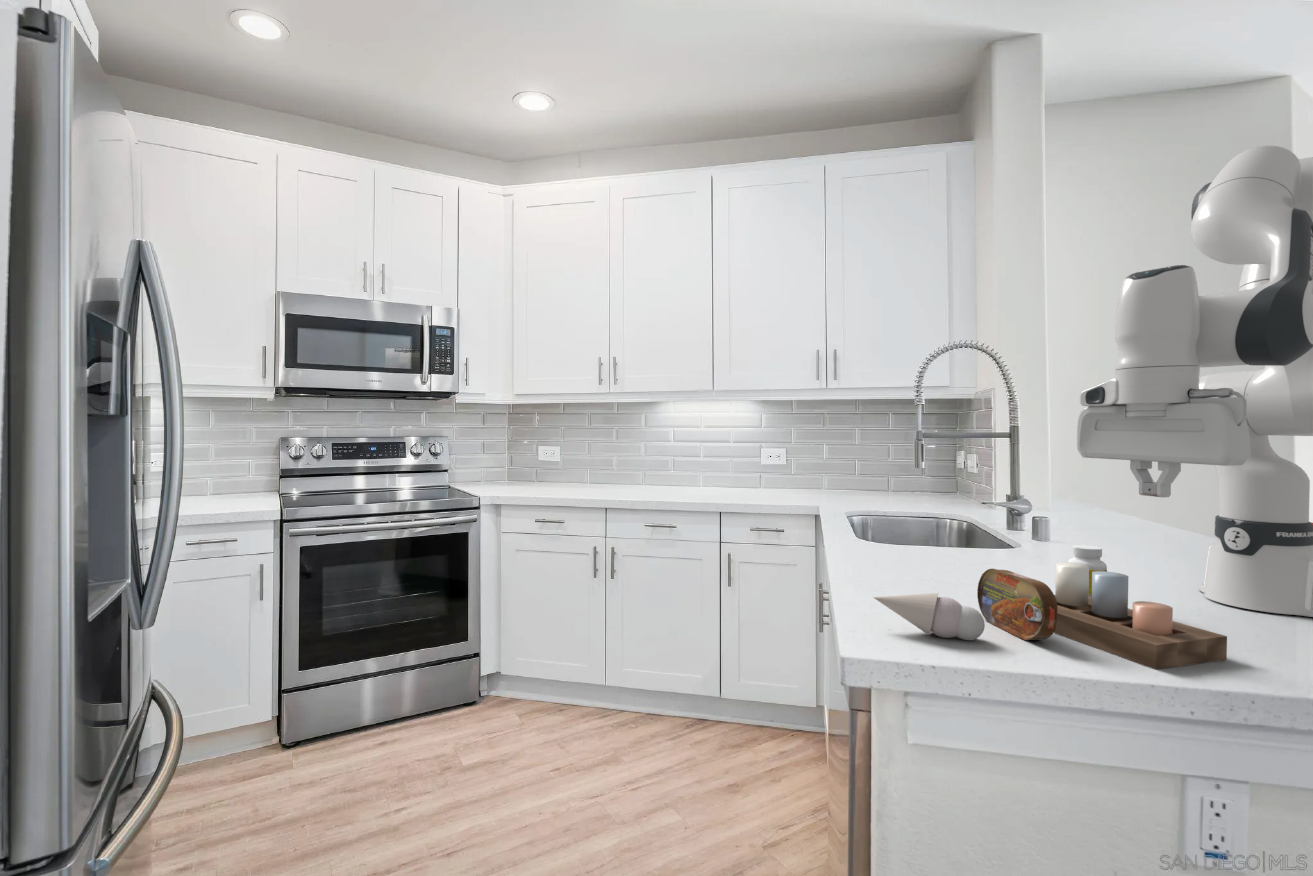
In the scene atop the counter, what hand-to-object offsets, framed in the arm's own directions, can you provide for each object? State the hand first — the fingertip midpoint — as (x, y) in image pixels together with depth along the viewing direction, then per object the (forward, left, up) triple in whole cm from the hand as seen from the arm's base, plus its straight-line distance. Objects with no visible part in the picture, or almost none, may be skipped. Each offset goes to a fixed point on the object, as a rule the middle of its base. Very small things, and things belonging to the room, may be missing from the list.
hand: (1154, 496), depth 86 cm
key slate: (0, -6, -17) cm, 18 cm away
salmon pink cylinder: (0, 0, -20) cm, 20 cm away
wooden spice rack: (0, -6, -21) cm, 21 cm away
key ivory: (0, -12, -17) cm, 21 cm away
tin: (+11, -12, -21) cm, 26 cm away
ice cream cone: (+24, -14, -21) cm, 35 cm away
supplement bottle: (-11, -19, -21) cm, 30 cm away
